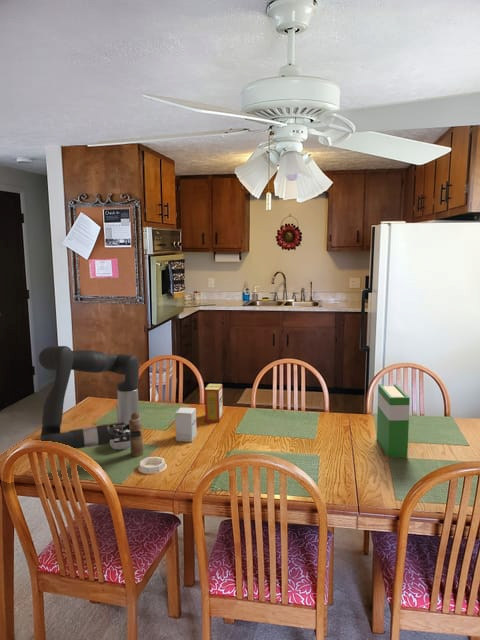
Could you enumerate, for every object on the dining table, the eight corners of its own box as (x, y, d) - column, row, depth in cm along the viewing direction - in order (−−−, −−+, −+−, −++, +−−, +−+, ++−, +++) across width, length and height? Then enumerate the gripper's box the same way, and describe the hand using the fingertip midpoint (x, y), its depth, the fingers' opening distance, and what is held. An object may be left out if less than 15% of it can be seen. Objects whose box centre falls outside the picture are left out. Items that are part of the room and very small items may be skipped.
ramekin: (112, 453, 201) (111, 440, 200) (105, 443, 211) (105, 431, 210) (139, 447, 206) (138, 435, 205) (132, 438, 216) (131, 426, 215)
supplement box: (192, 442, 210) (191, 413, 208) (175, 441, 212) (174, 412, 210) (197, 435, 217) (196, 407, 215) (180, 434, 219) (179, 406, 217)
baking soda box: (219, 422, 233) (218, 389, 230) (205, 421, 234) (204, 388, 231) (223, 415, 242) (222, 383, 240) (209, 414, 243) (209, 382, 241)
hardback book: (376, 439, 210) (378, 384, 206) (394, 439, 210) (396, 384, 206) (388, 457, 193) (390, 397, 189) (407, 457, 192) (409, 397, 189)
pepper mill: (128, 457, 197) (126, 413, 194) (136, 452, 201) (134, 409, 198) (137, 459, 194) (135, 415, 191) (145, 455, 198) (143, 411, 195)
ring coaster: (132, 472, 184) (132, 464, 183) (151, 461, 193) (151, 453, 192) (154, 478, 179) (153, 470, 178) (172, 467, 187) (172, 459, 187)
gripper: (97, 433, 183) (141, 426, 189) (93, 420, 196) (134, 414, 202) (98, 452, 184) (142, 445, 190) (94, 438, 197) (135, 432, 203)
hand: (138, 429), depth 196 cm, fingers open, 8 cm apart
